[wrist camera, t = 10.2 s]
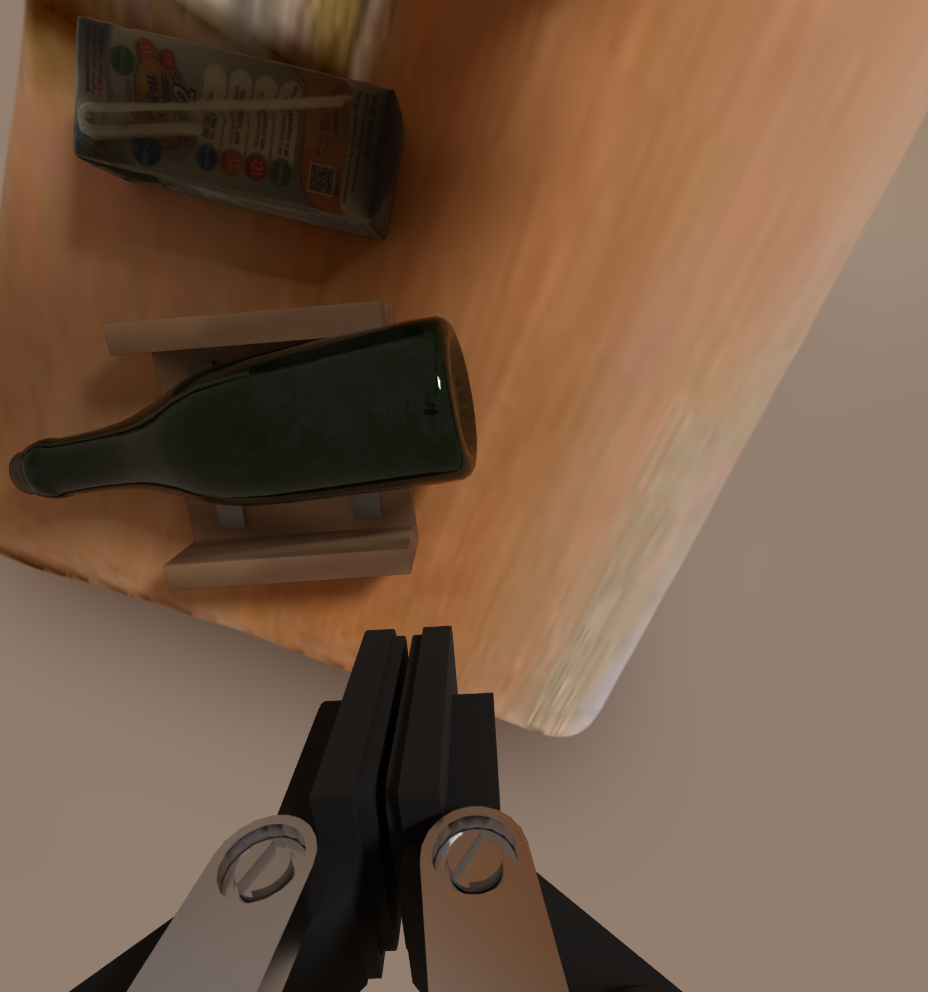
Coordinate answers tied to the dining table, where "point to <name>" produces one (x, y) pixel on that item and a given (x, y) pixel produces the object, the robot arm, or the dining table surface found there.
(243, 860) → the robot arm
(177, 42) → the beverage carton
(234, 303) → the dining table surface
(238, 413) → the beer bottle
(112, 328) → the cradle
